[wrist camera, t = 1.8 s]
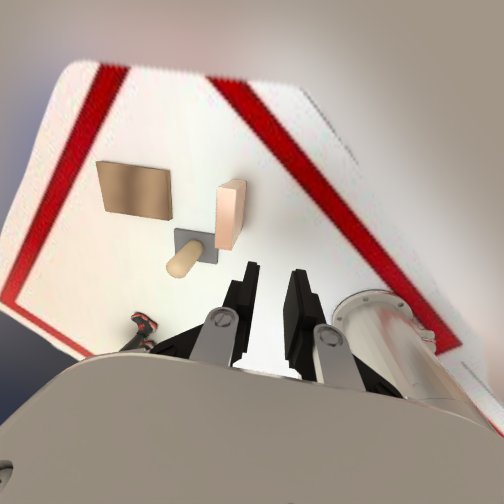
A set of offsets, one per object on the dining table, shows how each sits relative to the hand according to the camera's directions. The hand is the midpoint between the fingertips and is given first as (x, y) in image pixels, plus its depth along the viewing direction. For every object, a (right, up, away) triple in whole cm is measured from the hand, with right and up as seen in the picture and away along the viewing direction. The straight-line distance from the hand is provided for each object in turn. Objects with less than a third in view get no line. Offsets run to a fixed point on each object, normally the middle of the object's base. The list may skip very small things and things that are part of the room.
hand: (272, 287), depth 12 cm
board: (-18, +11, +18) cm, 28 cm away
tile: (-3, +9, +18) cm, 20 cm away
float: (-10, +3, +21) cm, 24 cm away
